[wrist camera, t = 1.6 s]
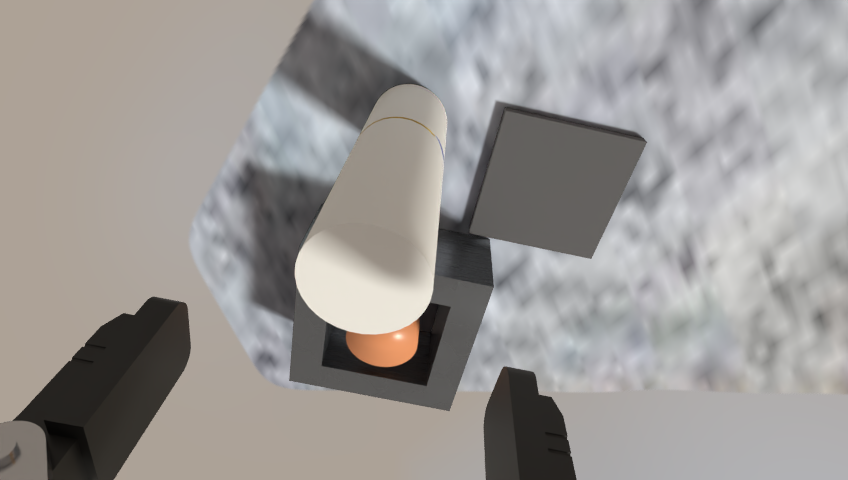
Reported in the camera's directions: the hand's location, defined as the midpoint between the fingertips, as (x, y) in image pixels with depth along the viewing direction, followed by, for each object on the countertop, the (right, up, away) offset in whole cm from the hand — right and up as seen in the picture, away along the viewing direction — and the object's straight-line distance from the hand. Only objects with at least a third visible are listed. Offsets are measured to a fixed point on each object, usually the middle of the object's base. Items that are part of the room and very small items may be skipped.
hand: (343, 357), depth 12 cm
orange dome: (0, -2, +19) cm, 19 cm away
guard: (0, 0, +22) cm, 22 cm away
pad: (+10, +6, +17) cm, 20 cm away
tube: (+1, +10, +15) cm, 18 cm away
